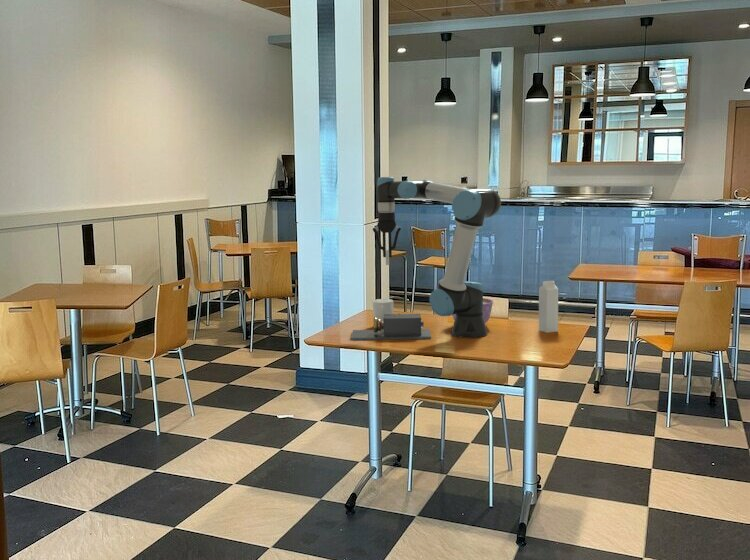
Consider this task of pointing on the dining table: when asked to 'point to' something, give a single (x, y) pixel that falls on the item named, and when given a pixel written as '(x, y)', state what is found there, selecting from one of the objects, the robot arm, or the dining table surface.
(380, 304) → the candle holder
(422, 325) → the shaft
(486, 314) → the bowl of food
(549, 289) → the milk
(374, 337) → the bearing block
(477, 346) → the dining table surface
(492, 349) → the dining table surface
